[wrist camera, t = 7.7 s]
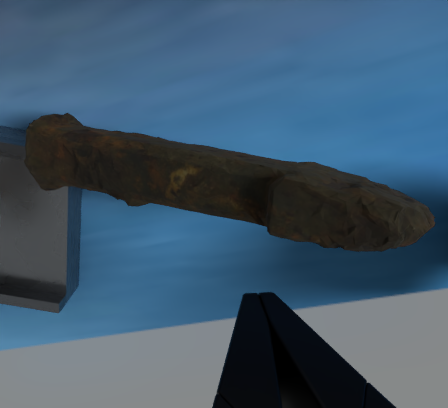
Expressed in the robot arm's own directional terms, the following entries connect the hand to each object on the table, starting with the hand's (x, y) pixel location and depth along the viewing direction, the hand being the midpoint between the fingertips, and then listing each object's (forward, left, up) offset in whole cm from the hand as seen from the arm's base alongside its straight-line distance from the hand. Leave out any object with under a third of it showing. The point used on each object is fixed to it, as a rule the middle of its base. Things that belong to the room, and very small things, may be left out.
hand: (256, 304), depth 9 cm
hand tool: (+1, -1, -9) cm, 10 cm away
